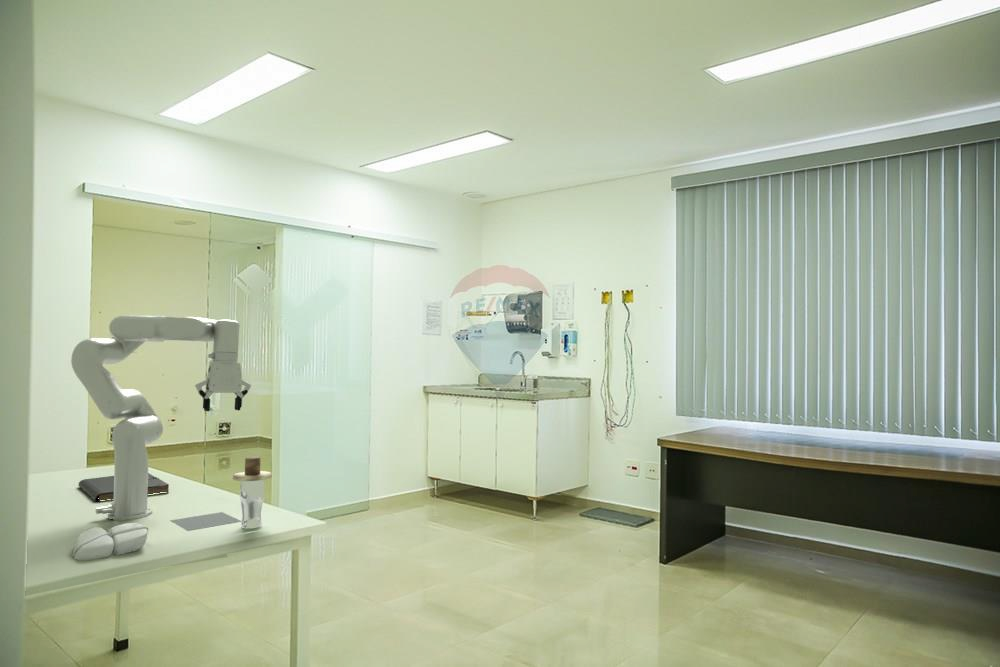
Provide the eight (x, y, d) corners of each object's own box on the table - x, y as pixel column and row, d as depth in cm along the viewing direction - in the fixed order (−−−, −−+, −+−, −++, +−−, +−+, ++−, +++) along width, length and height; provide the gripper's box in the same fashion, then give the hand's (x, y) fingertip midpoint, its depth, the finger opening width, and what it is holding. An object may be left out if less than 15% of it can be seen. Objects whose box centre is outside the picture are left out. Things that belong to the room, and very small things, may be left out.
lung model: (74, 564, 159) (63, 549, 178) (151, 552, 170) (133, 540, 189) (75, 537, 160) (64, 525, 179) (152, 527, 171) (134, 517, 190)
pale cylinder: (243, 524, 197) (244, 475, 198) (266, 523, 198) (267, 475, 199) (235, 530, 191) (237, 479, 191) (259, 530, 191) (261, 479, 192)
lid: (242, 482, 187) (242, 462, 187) (226, 477, 195) (227, 457, 195) (277, 477, 195) (278, 458, 195) (261, 472, 203) (262, 453, 203)
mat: (188, 532, 188) (188, 530, 188) (169, 521, 199) (169, 520, 199) (241, 522, 199) (241, 521, 199) (221, 513, 211) (221, 512, 211)
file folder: (170, 483, 240) (95, 493, 224) (169, 494, 240) (95, 505, 224) (147, 471, 265) (78, 479, 249) (147, 481, 265) (78, 489, 249)
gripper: (201, 357, 199) (198, 412, 198) (256, 358, 211) (253, 410, 210) (193, 356, 204) (190, 410, 204) (247, 358, 216) (244, 408, 215)
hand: (222, 410), depth 207 cm, fingers open, 9 cm apart
